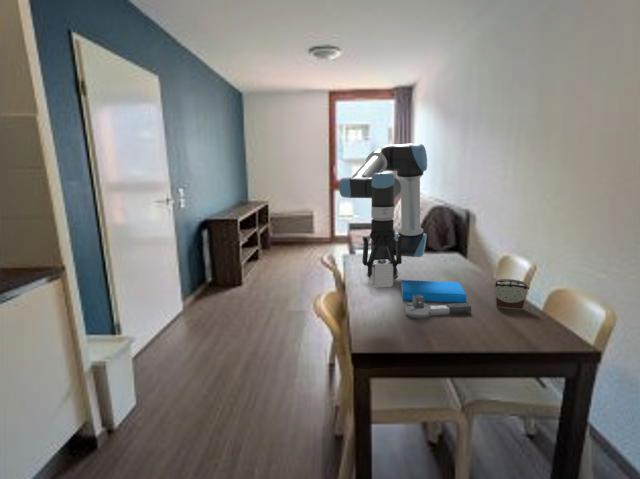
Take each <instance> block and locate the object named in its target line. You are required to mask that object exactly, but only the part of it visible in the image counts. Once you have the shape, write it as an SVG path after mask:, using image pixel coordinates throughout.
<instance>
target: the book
mask: <svg viewBox="0 0 640 479" xmlns="http://www.w3.org/2000/svg"><path fill="white" fill-rule="evenodd" d="M413 295H422V296H423V297H424V302H439V303H440V302H441V303H467V293H466V291H465V290H464V288H463V286H462V285H461V283H460V282H458V281H439V280H438V281H435V280H434V281H433V280H432V281H431V280H428V281H427V280H409V279H408V280H407V279H402V280H401V296H402V301H413Z"/></svg>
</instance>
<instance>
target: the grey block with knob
mask: <svg viewBox="0 0 640 479" xmlns="http://www.w3.org/2000/svg"><path fill="white" fill-rule="evenodd" d="M373 267H374V285H373V287H374V288H375V289H377V288H392V287H393V285H392V267H393V264H392V263H391V262H390V261H389V260H388V259H386V260H384V259H379V260H374V262H373Z"/></svg>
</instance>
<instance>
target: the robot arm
mask: <svg viewBox="0 0 640 479" xmlns="http://www.w3.org/2000/svg"><path fill="white" fill-rule="evenodd" d="M427 169H428V158H427V151H426V147H425V146H424V144H422V143H414V142H413V143H402V144H401V143H400V144H387V145H382V146H380V147H378V148H377V149H374V150H373V151H372V152H371V153H369V154H368V155H367V157H366V160H365V162H364V163H363V164H362V165H361V167H360V168H359V169H358V170H357V171H356V172H355V173H354V174H353V175H352V176H351V177H349V176H347V177H342V178H341V179H340V181H339V186H338V187H339V194H340V196H341V197H342V198H346V199H347V198H349V199H371V210H370V211H371V214H370V215H371V221H370V222H371V223H370V224H371V226H370V227H371V229H370V230H371V231H370V233H369V235H366V236H362V242H363V248H362V250H363V251H362V259H361V260H362V265H363V266H365V267H367V276H368V277H370V279H369V280H370V282H369V283H370V285H371V286H373V287H374V267H373V262H374V260H379V259H384V260H386V259H388V260H389V261H390V262H391V263H392V264H393V267H392V286H393V285H394V278H396V277H398V275H399V270H398V268H397V266H399V265H401V264H402V263H403V262H402V257H406V258H408V257H410V258H421V257H423V256H424V253H425V250H426V244H427V238H428V236H427V233H424V228H422V227H421V177H423V175H424V172H426V171H427ZM393 172H396V177H395V174H394V173H393ZM397 177H398V178H399V179H400V180H399V179H398V178H397ZM399 195H400V204H401V205H400V215H401V217H400V219H401V221H400V222H401V227H399V229H398V231H396V229H395V228H394V224H395V221H394V217H395V214H394V212H395V198H396V197H398V196H399ZM369 243H370V254H369ZM395 258H396V259H395Z"/></svg>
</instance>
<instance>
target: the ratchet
mask: <svg viewBox="0 0 640 479" xmlns="http://www.w3.org/2000/svg"><path fill="white" fill-rule="evenodd" d="M471 312H472V306H471V304H468V303H467V302H466V303H459V302H452V303H445V304H443V305H430V304H428V303H425V301H424V297H423V296H422V295H413V300H412V301H411V302H408V303H406V304H405V315H406V316H407V317H409V318H411V319H414V320H415V319H418V320H425V319H428V318H430V317H431V316H441V315H442V316H445V315H451V316H452V315H465V314H466V315H467V314H468V315H469V314H472V313H471Z"/></svg>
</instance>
